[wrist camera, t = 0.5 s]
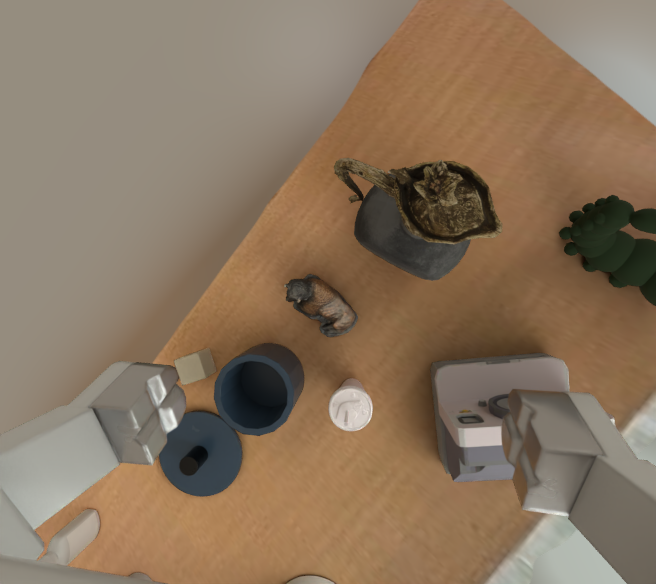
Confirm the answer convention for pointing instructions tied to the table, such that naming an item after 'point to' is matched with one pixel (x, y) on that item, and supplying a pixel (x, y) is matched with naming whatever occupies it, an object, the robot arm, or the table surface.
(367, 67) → the table surface
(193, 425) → the lid
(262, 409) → the canister
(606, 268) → the toy figurine
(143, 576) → the coffee cup
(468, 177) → the pitcher
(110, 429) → the robot arm
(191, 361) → the block
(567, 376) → the instant camera
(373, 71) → the table surface
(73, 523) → the eye dropper bottle
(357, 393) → the smoothie
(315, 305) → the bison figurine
